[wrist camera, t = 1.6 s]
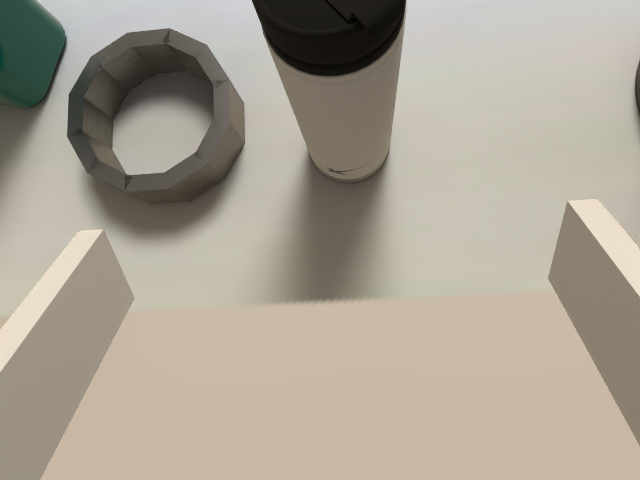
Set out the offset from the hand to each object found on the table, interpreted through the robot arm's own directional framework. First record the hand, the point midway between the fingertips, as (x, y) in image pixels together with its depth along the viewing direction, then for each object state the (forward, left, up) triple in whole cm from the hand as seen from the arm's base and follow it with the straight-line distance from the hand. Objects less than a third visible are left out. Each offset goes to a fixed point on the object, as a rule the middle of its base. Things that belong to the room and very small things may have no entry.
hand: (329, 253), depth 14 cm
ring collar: (+19, -5, -21) cm, 29 cm away
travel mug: (+5, -10, -22) cm, 24 cm away
